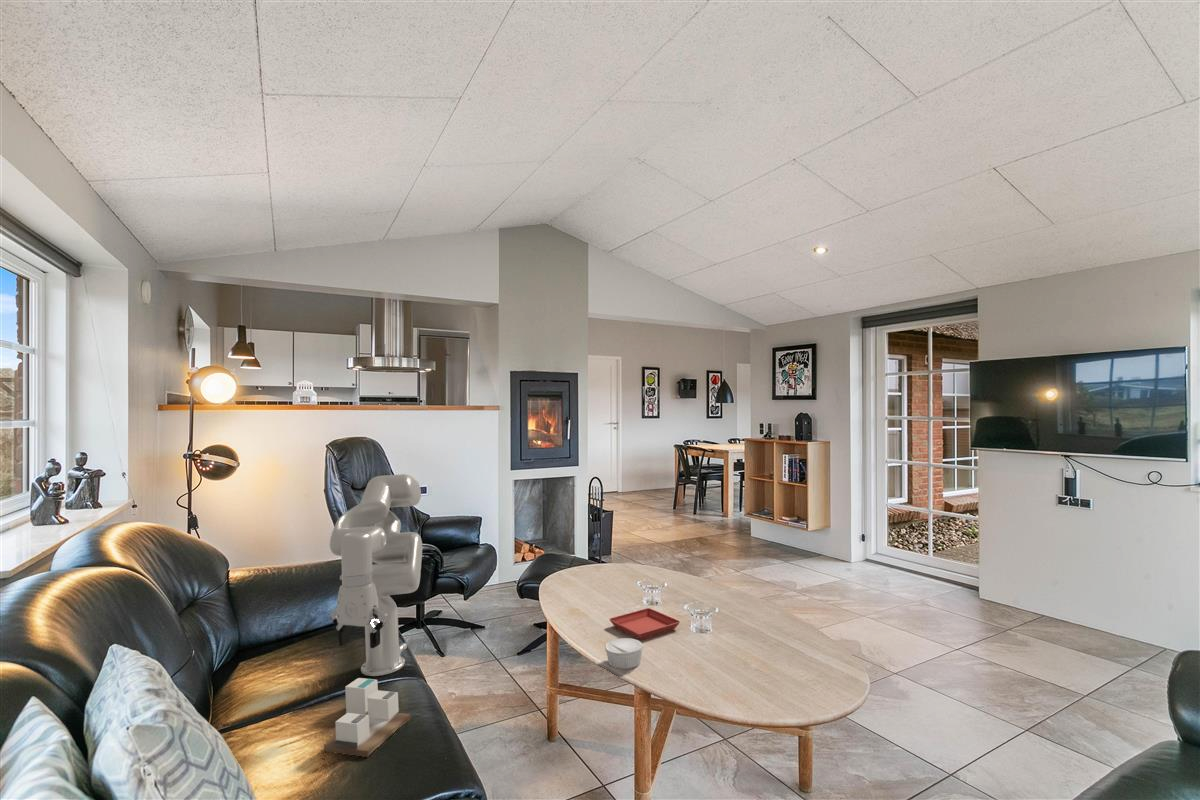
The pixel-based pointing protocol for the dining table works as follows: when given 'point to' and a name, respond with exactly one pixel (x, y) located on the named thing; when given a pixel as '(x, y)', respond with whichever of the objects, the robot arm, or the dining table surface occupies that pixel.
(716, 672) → the dining table surface
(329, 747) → the board
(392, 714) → the mounted modules
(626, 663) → the ramekin
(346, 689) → the block
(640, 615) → the plant saucer
